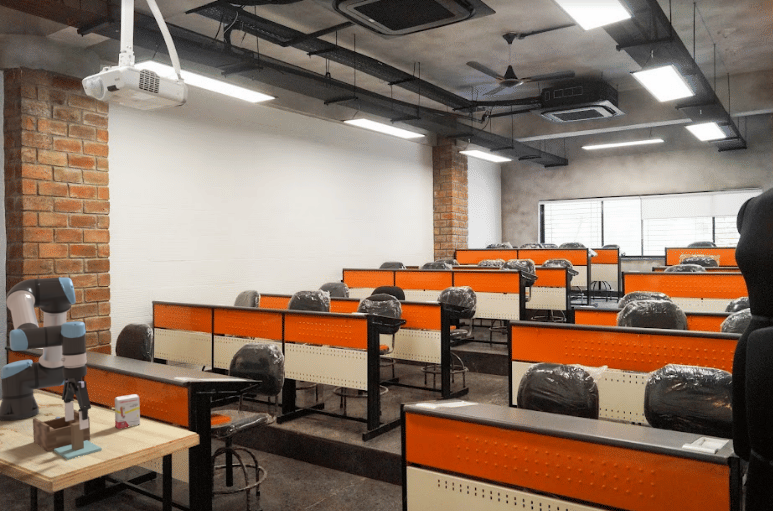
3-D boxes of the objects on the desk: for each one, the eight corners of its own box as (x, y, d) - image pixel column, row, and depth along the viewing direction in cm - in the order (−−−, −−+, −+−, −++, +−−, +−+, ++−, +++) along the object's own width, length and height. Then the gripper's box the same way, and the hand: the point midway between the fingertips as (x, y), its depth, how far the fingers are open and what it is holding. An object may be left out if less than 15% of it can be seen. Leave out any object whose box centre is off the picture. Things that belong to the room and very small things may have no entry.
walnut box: (33, 442, 214) (32, 418, 214) (74, 432, 224) (74, 409, 224) (47, 451, 204) (46, 426, 204) (90, 440, 215) (89, 416, 214)
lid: (54, 452, 204) (53, 424, 204) (87, 443, 212) (86, 416, 212) (67, 460, 195) (66, 431, 195) (101, 451, 204) (100, 423, 203)
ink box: (117, 429, 226) (116, 400, 226) (115, 426, 230) (114, 397, 230) (140, 424, 232) (139, 396, 231) (137, 422, 236) (136, 393, 235)
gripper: (50, 362, 208) (52, 419, 209) (76, 372, 192) (79, 435, 193) (72, 358, 214) (74, 414, 215) (100, 368, 197) (102, 429, 198)
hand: (76, 424), depth 204 cm, fingers open, 13 cm apart
